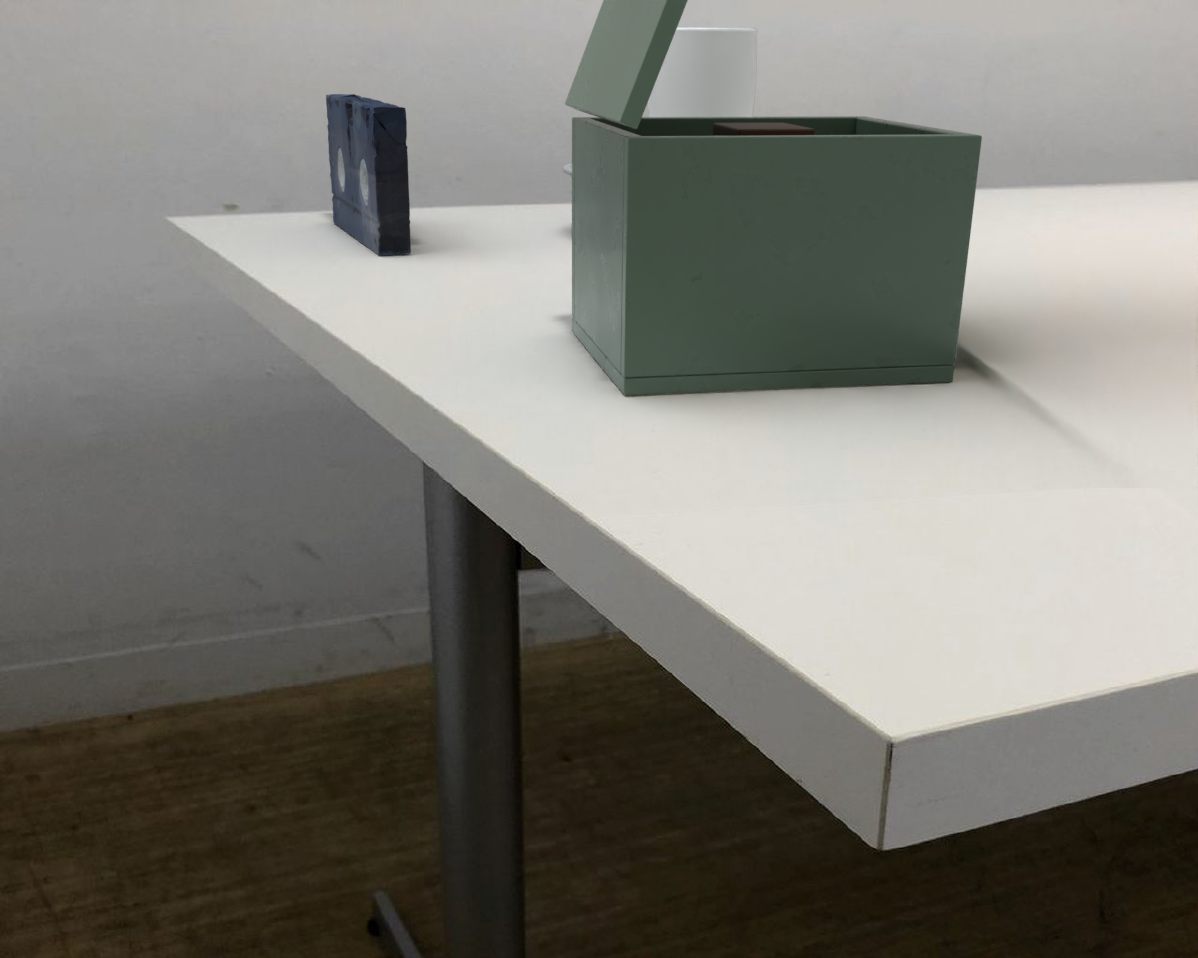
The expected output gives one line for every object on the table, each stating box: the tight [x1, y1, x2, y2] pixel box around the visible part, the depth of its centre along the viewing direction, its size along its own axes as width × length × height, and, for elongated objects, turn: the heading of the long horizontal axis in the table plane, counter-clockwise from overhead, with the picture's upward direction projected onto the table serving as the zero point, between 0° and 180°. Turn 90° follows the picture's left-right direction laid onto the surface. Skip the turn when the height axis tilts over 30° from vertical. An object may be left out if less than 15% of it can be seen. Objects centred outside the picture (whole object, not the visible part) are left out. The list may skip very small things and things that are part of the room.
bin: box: [571, 115, 983, 397], centre depth 63 cm, size 16×14×11 cm
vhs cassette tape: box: [325, 93, 412, 256], centre depth 99 cm, size 18×3×10 cm, turn 19°
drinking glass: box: [647, 26, 758, 117], centre depth 83 cm, size 7×7×15 cm
